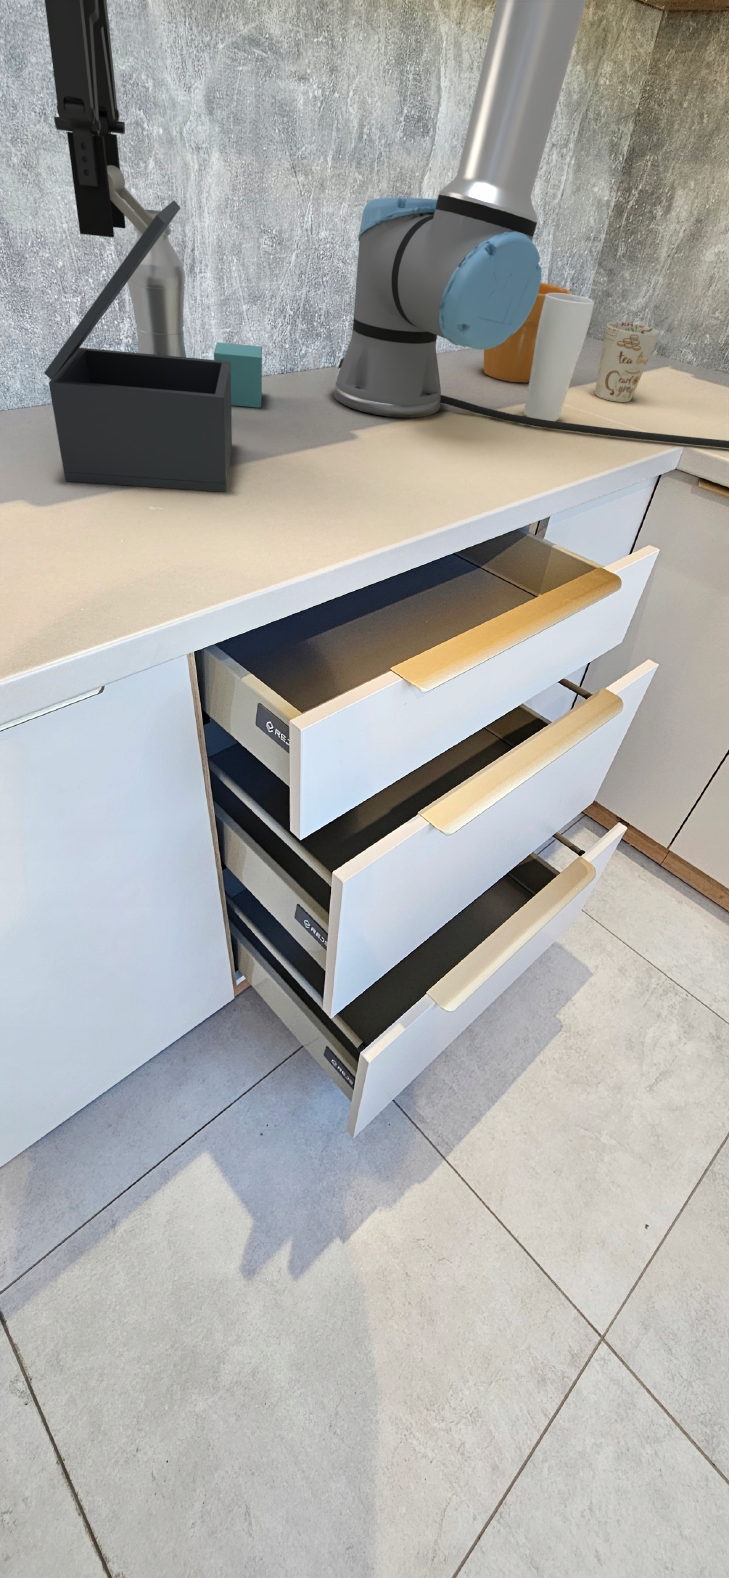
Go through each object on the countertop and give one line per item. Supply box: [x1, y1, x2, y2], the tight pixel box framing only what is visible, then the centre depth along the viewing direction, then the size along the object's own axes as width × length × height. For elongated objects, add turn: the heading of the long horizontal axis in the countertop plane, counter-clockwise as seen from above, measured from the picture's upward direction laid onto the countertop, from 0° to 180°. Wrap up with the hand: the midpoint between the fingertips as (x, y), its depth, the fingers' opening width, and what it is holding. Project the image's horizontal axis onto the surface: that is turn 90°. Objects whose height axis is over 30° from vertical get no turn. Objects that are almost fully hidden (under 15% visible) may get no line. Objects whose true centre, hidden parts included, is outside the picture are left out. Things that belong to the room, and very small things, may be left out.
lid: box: [43, 165, 181, 380], centre depth 67 cm, size 17×14×6 cm
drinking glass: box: [523, 293, 595, 422], centre depth 103 cm, size 7×7×15 cm
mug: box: [594, 321, 660, 403], centre depth 120 cm, size 8×13×10 cm, turn 158°
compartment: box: [48, 347, 233, 493], centre depth 76 cm, size 16×14×9 cm
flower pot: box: [483, 281, 573, 383], centre depth 121 cm, size 14×14×13 cm
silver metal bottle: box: [127, 208, 187, 357], centre depth 85 cm, size 6×7×20 cm
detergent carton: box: [213, 341, 263, 409], centre depth 97 cm, size 6×6×6 cm
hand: (103, 230), depth 65 cm, fingers closed on lid, 6 cm apart
